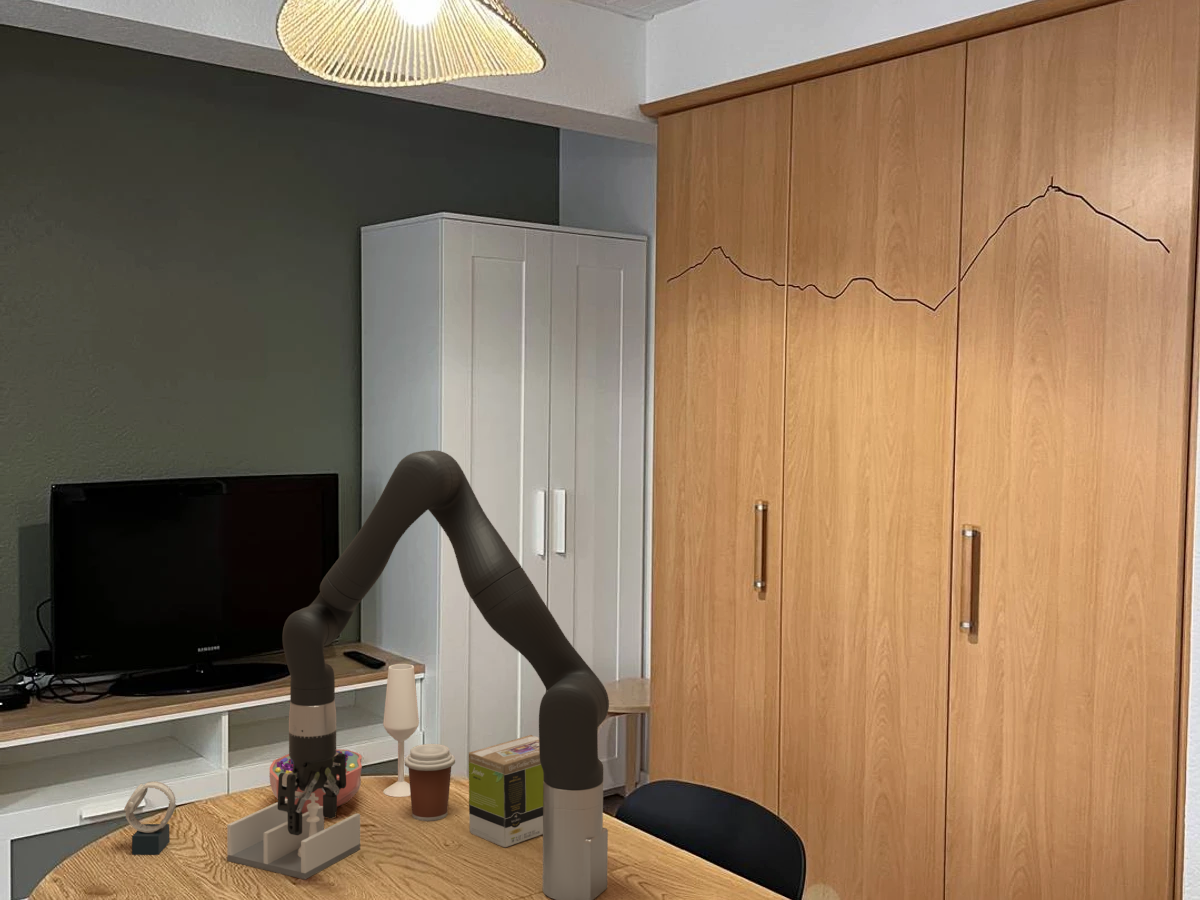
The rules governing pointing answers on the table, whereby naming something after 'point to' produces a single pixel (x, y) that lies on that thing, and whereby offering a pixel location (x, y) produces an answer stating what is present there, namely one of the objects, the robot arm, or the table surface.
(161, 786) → the watch
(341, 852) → the slot rack
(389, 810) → the table surface
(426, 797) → the coffee cup
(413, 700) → the champagne flute
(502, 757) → the tea box
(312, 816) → the chess piece
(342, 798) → the cell model
